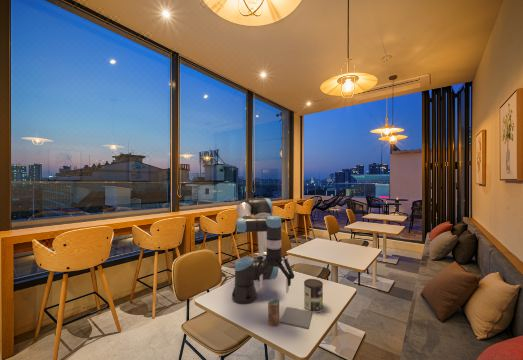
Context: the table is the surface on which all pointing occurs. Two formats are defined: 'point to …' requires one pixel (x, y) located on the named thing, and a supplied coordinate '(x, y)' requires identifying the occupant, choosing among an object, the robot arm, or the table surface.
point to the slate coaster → (296, 317)
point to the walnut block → (273, 312)
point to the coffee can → (313, 295)
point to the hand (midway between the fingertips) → (274, 289)
